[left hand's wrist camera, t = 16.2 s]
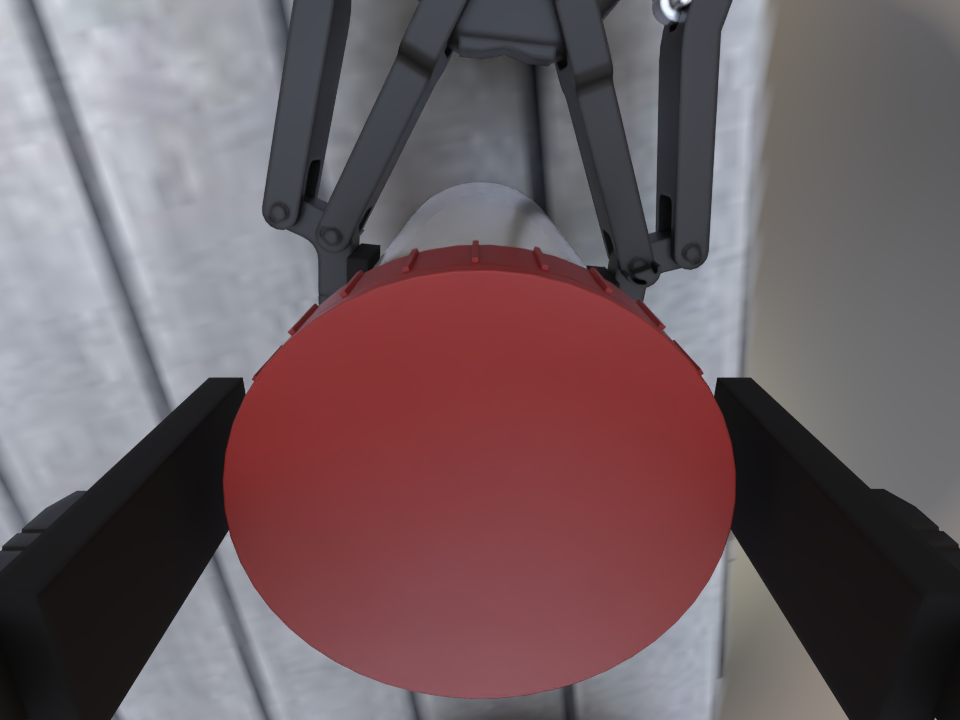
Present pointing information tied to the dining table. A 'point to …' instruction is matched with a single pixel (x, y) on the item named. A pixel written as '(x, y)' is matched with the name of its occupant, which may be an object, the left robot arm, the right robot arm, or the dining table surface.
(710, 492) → the lid
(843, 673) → the left robot arm
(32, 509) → the dining table surface
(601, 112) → the right robot arm
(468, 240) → the jar
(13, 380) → the dining table surface
